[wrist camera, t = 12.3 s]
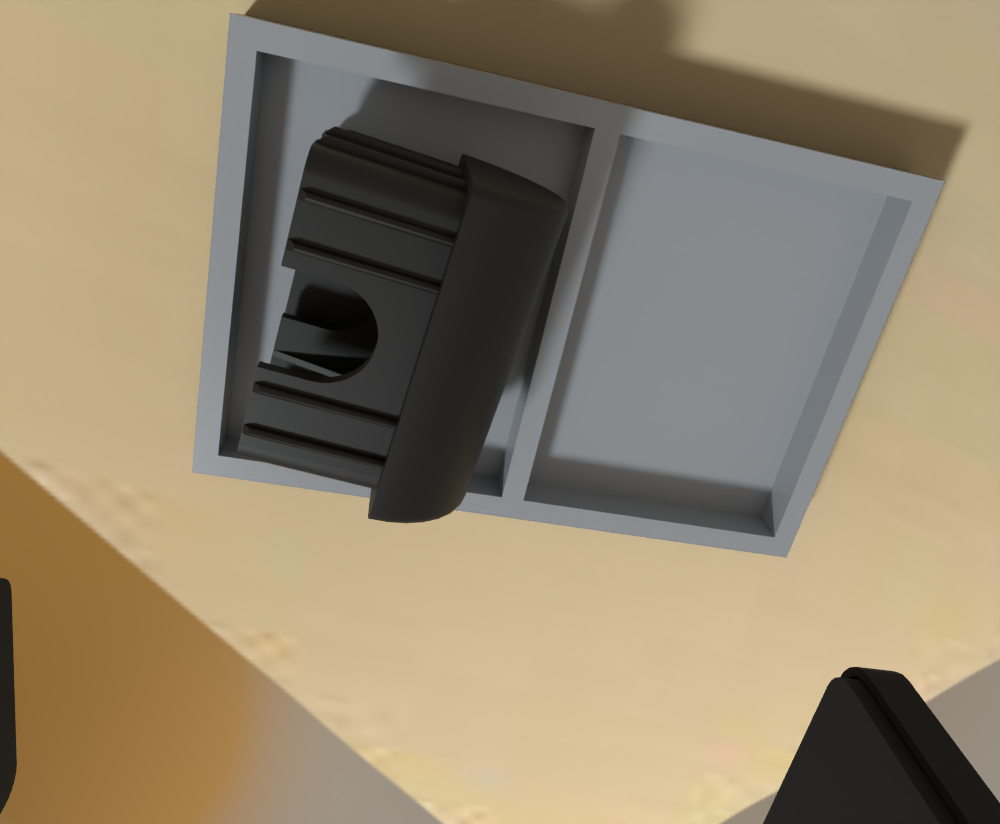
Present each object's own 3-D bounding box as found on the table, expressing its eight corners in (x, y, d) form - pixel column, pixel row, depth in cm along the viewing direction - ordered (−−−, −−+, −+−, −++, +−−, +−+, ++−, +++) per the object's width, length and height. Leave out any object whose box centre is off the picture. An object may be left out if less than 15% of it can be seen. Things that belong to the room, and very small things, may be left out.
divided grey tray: (911, 172, 28) (944, 181, 27) (766, 529, 34) (786, 557, 32) (244, 14, 25) (229, 13, 23) (205, 446, 30) (192, 472, 28)
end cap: (458, 444, 31) (468, 546, 24) (266, 393, 29) (225, 489, 23) (550, 180, 27) (590, 222, 21) (336, 107, 25) (310, 130, 19)
